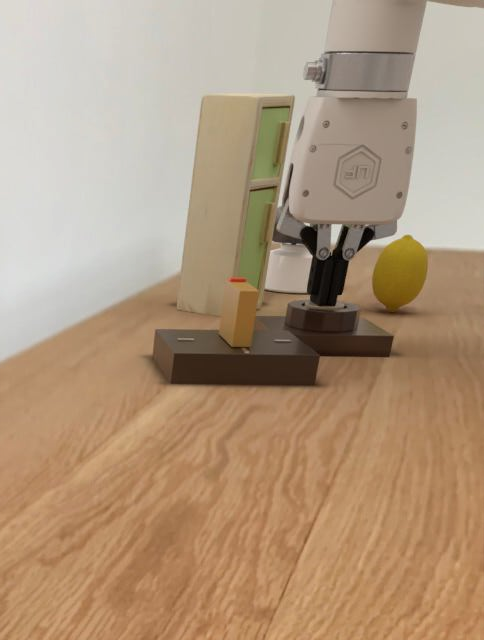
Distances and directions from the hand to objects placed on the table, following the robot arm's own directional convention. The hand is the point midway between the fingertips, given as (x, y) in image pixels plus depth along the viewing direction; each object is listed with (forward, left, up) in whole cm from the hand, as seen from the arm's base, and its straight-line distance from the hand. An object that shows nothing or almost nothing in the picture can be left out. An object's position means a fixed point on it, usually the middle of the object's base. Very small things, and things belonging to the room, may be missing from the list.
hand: (322, 303), depth 105 cm
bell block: (0, 0, -4) cm, 4 cm away
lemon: (-14, -20, -4) cm, 25 cm away
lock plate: (+11, +12, -4) cm, 17 cm away
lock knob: (+11, +12, -1) cm, 16 cm away
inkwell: (-5, -32, -4) cm, 33 cm away
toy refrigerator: (+5, -20, -4) cm, 21 cm away
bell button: (0, 0, -2) cm, 2 cm away
